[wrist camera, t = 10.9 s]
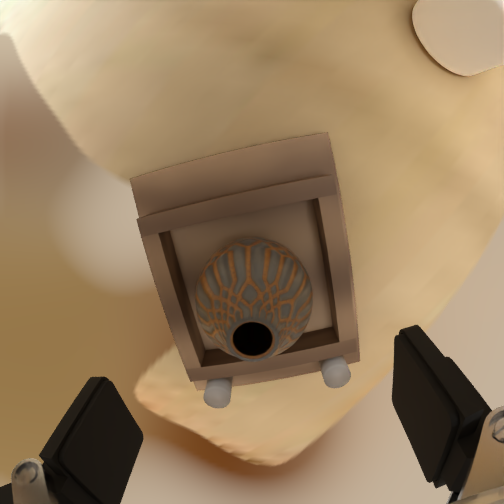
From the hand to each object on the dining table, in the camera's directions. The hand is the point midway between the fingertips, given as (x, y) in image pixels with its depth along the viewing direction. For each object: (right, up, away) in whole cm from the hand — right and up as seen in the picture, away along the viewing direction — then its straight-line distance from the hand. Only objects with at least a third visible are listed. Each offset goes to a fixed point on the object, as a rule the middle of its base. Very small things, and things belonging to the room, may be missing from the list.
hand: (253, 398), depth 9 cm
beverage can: (+17, +23, +9) cm, 30 cm away
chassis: (0, +3, +14) cm, 15 cm away
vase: (0, +3, +13) cm, 14 cm away
